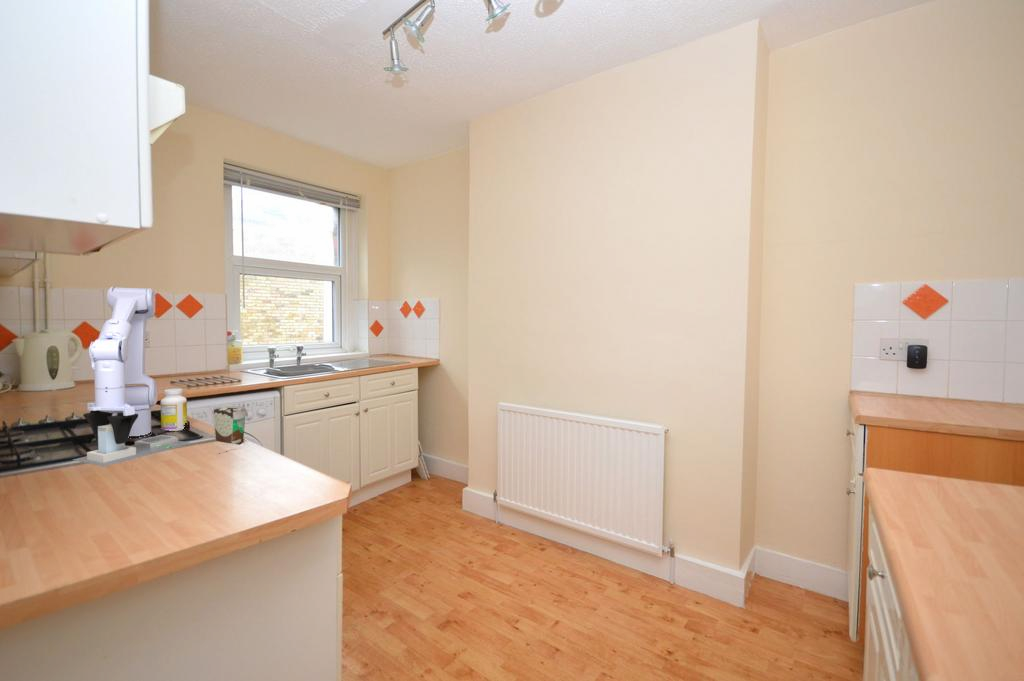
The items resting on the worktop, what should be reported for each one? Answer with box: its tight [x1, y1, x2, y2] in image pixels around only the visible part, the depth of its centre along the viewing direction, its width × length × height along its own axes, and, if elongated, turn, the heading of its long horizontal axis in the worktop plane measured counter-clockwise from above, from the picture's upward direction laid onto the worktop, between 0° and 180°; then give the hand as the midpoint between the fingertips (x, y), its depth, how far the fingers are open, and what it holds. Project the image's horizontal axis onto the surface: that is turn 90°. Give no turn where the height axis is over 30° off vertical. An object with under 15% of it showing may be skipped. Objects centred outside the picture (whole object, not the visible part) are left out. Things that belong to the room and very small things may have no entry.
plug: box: [97, 423, 126, 454], centre depth 113 cm, size 3×4×8 cm
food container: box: [211, 405, 249, 446], centre depth 131 cm, size 12×6×10 cm, turn 58°
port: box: [134, 434, 179, 451], centre depth 122 cm, size 8×7×2 cm
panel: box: [72, 440, 193, 467], centre depth 118 cm, size 12×21×1 cm, turn 161°
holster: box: [86, 445, 136, 463], centre depth 113 cm, size 6×7×2 cm
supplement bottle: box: [160, 388, 188, 432], centre depth 142 cm, size 7×7×13 cm
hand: (111, 441), depth 113 cm, fingers open, 7 cm apart
